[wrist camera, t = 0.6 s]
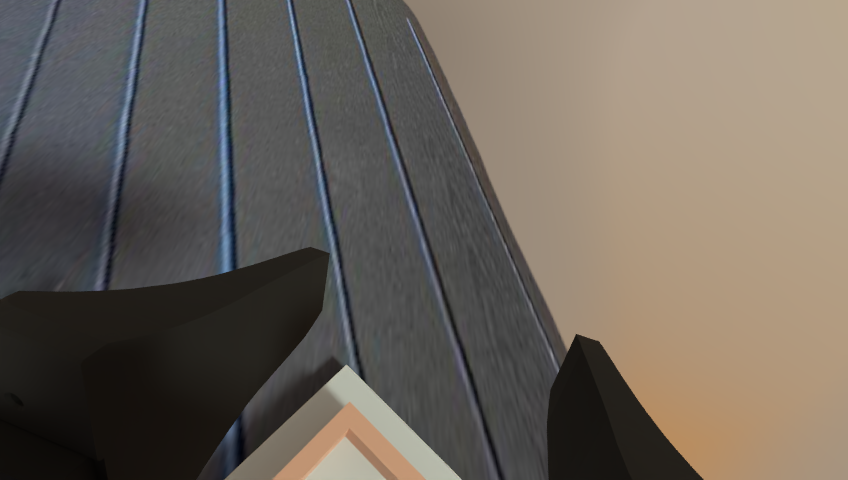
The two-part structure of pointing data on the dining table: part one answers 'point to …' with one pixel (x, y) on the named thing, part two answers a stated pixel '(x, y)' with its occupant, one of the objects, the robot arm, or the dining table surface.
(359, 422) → the collar board
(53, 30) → the dining table surface
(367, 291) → the dining table surface
